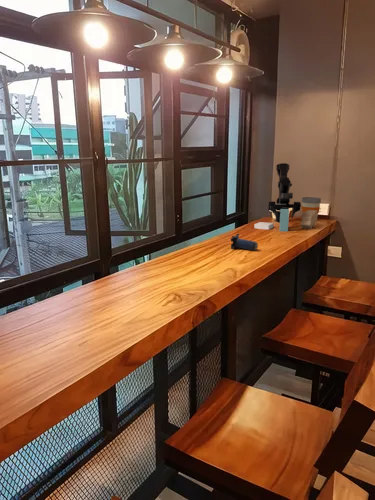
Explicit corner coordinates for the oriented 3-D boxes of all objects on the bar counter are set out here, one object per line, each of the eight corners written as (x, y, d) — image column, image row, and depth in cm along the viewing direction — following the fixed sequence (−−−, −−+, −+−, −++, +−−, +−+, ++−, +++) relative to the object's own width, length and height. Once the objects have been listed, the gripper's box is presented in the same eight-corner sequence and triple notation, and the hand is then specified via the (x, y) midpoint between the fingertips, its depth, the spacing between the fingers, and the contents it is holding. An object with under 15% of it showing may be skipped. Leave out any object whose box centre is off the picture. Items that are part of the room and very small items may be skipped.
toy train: (300, 229, 238) (301, 212, 236) (307, 224, 253) (308, 209, 250) (309, 230, 236) (310, 213, 233) (316, 225, 250) (317, 210, 248)
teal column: (279, 229, 236) (280, 209, 233) (287, 230, 235) (288, 209, 233) (279, 231, 232) (280, 210, 229) (287, 231, 231) (289, 210, 228)
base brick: (259, 226, 249) (259, 222, 248) (273, 228, 244) (273, 223, 244) (254, 229, 241) (254, 224, 241) (268, 230, 237) (268, 225, 236)
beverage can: (229, 252, 188) (253, 256, 183) (229, 237, 185) (254, 241, 180) (237, 245, 196) (260, 248, 190) (237, 230, 192) (260, 234, 187)
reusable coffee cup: (317, 218, 277) (319, 197, 273) (320, 221, 265) (322, 199, 261) (299, 218, 279) (300, 197, 275) (301, 221, 267) (302, 198, 263)
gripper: (269, 187, 235) (268, 208, 227) (301, 188, 232) (302, 209, 223) (268, 199, 244) (267, 220, 236) (299, 200, 241) (300, 220, 233)
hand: (284, 217), depth 232 cm, fingers open, 9 cm apart
